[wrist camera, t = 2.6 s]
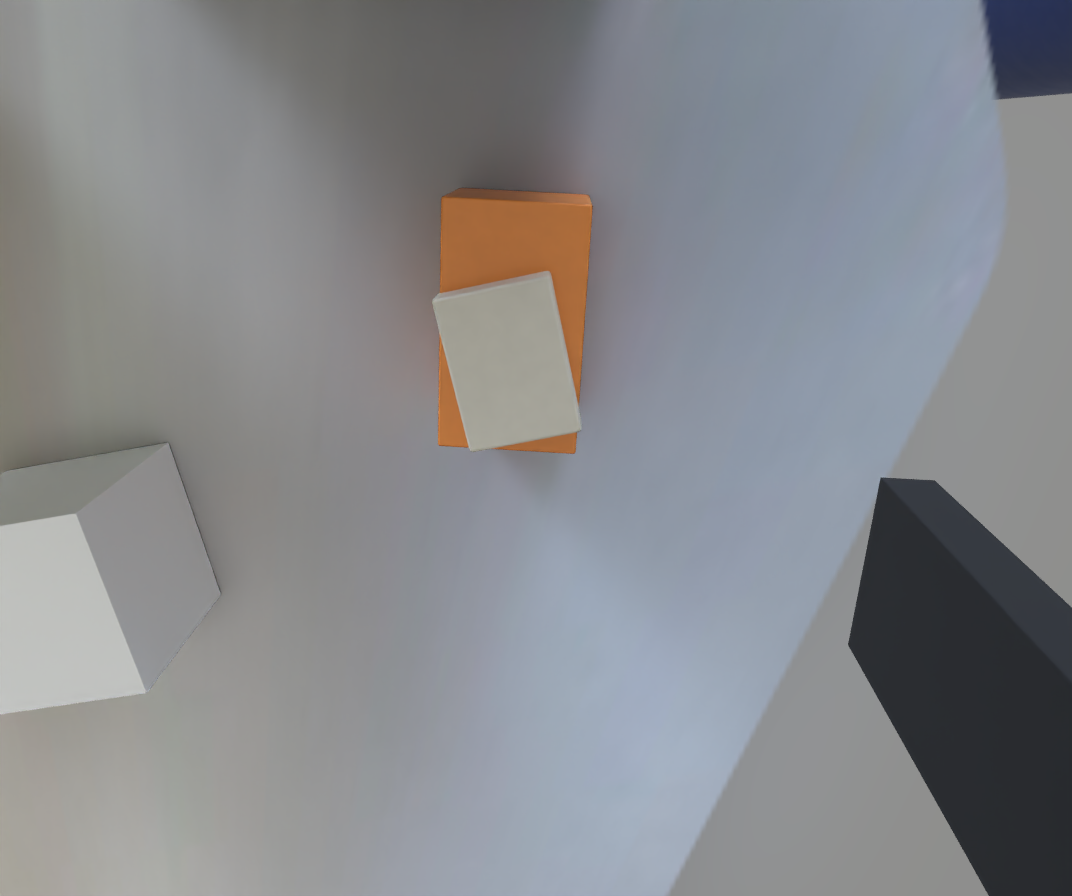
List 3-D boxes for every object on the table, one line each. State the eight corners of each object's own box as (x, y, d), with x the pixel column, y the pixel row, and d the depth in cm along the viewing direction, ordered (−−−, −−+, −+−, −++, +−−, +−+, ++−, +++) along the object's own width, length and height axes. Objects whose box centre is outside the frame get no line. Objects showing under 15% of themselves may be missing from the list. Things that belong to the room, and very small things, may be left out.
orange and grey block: (592, 194, 27) (597, 207, 22) (577, 413, 29) (578, 465, 24) (455, 187, 27) (432, 198, 22) (452, 405, 29) (430, 456, 25)
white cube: (7, 470, 31) (-121, 545, 25) (168, 441, 30) (75, 512, 24) (68, 619, 32) (-37, 721, 27) (221, 595, 32) (146, 694, 26)
